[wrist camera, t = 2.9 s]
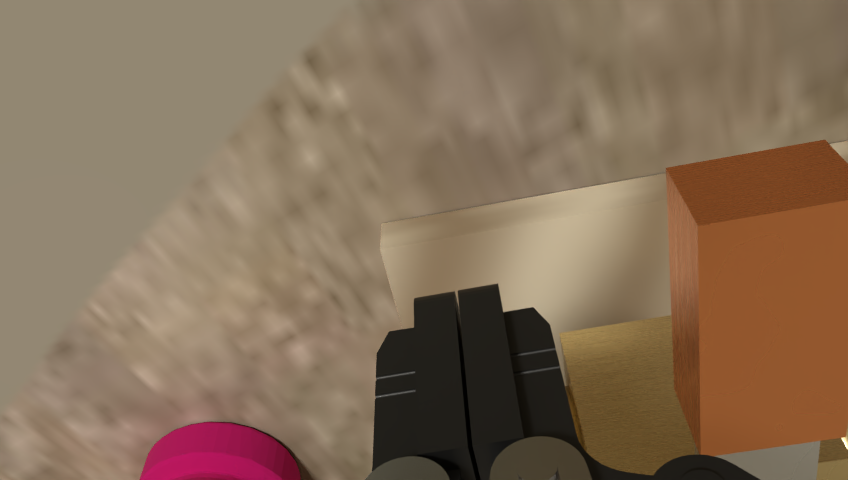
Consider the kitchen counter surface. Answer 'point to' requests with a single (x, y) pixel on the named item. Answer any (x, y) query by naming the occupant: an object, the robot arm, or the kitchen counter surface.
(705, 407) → the lever
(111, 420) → the kitchen counter surface
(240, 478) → the pepper mill
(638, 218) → the board
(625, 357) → the ball valve
